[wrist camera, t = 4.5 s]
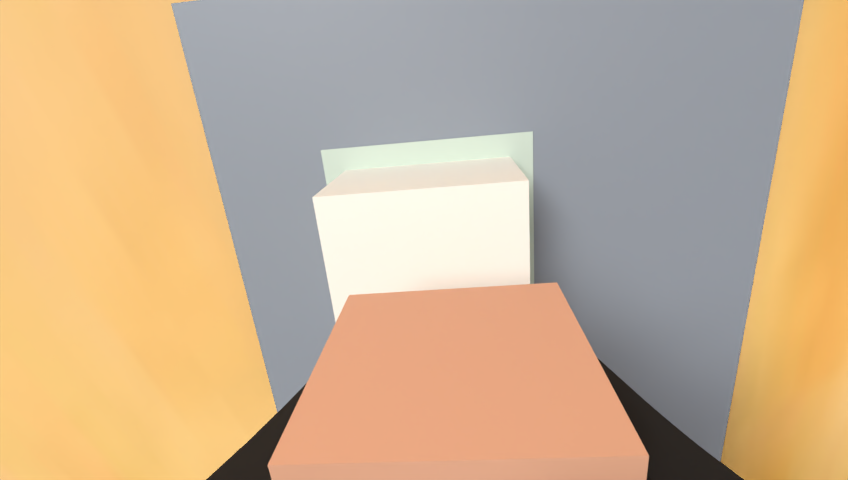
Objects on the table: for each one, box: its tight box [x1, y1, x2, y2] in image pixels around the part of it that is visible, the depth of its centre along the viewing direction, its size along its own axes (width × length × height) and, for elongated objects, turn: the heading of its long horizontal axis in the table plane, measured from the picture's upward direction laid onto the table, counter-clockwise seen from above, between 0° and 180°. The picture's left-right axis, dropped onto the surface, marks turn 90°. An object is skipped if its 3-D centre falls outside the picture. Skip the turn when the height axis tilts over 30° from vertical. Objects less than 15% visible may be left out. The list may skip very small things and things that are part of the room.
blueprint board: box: [171, 0, 804, 461], centre depth 18 cm, size 24×20×1 cm
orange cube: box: [268, 282, 649, 480], centre depth 8 cm, size 4×4×4 cm
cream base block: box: [312, 157, 530, 322], centre depth 15 cm, size 6×6×4 cm
